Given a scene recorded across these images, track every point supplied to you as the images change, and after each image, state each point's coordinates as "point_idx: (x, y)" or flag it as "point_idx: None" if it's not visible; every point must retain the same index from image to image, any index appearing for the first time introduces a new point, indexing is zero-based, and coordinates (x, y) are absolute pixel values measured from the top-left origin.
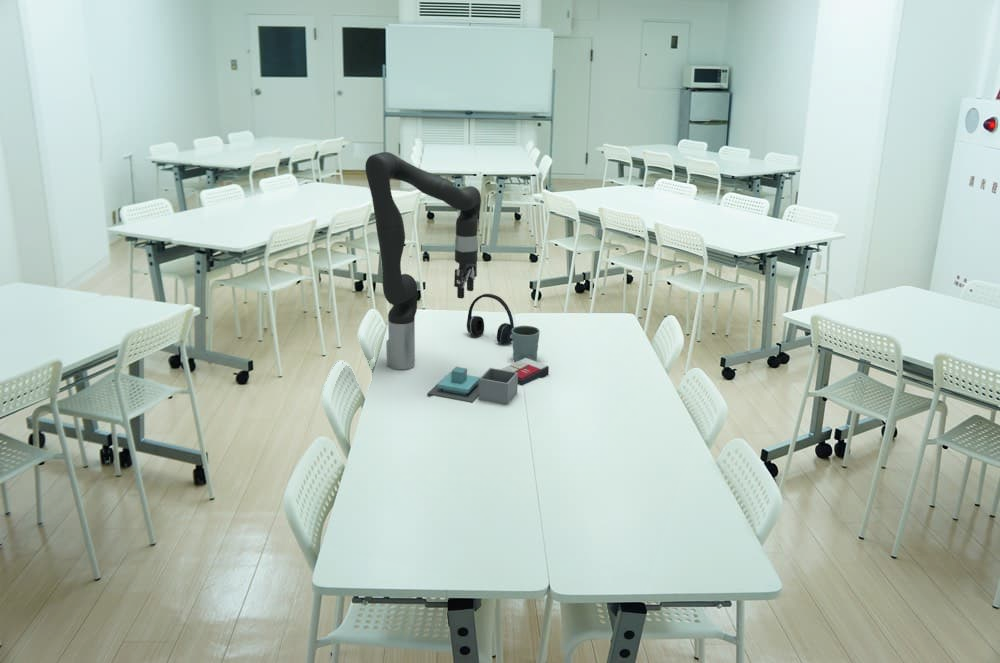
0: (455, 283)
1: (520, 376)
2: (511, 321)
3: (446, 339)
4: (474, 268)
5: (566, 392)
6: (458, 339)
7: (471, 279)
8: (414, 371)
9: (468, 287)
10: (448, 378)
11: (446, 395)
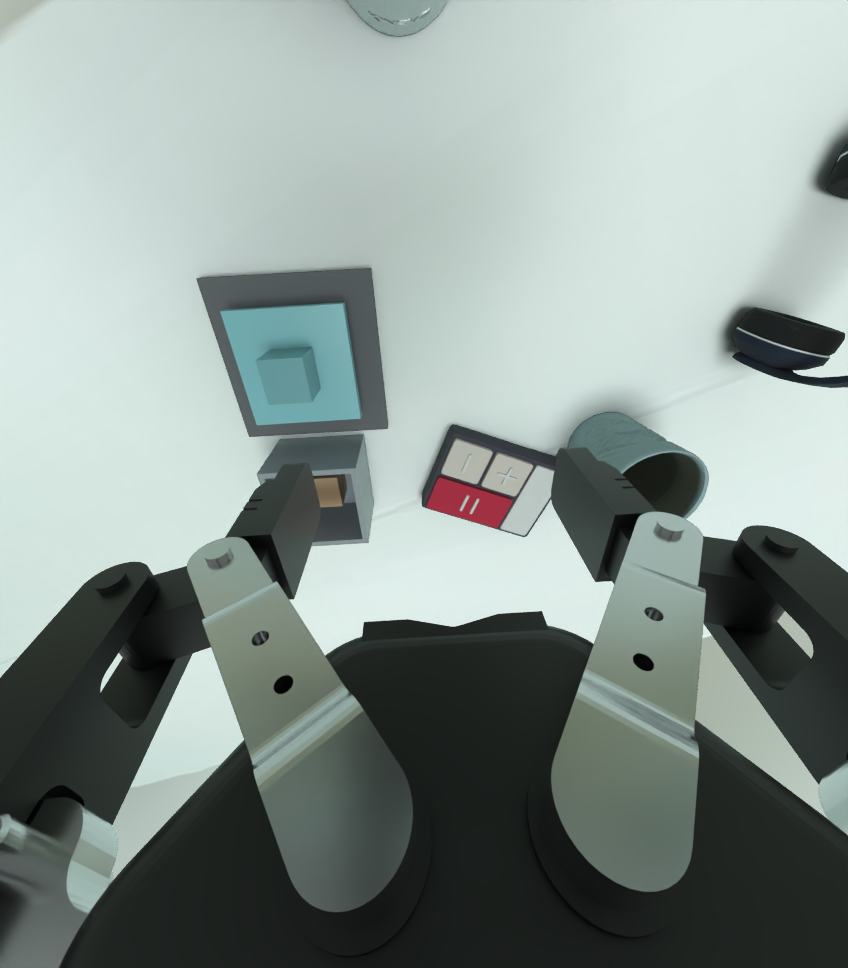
0: (67, 632)
1: (433, 502)
2: (813, 384)
3: (807, 15)
4: (808, 745)
5: (438, 576)
6: (803, 95)
7: (615, 577)
8: (360, 76)
9: (570, 479)
10: (288, 325)
11: (230, 350)
